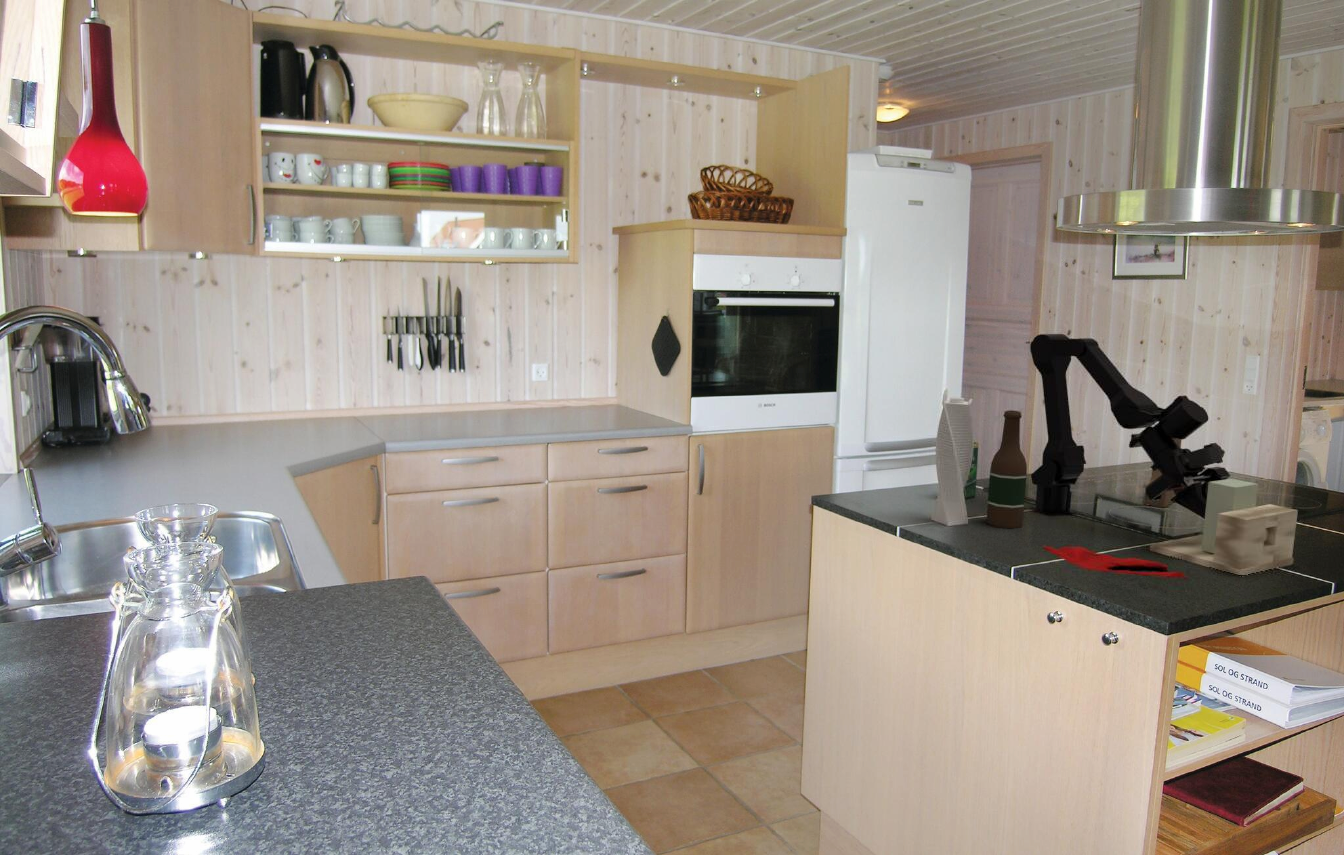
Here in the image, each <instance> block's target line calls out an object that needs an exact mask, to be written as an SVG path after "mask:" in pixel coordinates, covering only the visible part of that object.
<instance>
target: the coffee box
mask: <svg viewBox="0 0 1344 855" xmlns="http://www.w3.org/2000/svg"><path fill="white" fill-rule="evenodd" d="M978 457H979V442H975V441H974V448H973V456H972V462H971V467H970V471H969V475H968V478H967V481H966V484H965V487H964V490H963V492H964V498H965V500H966V499H972V498H976V494H977V479H978V478H977V476H978V475H977V474H978Z"/></svg>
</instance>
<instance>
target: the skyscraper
mask: <svg viewBox="0 0 1344 855" xmlns="http://www.w3.org/2000/svg"><path fill="white" fill-rule="evenodd" d="M942 394H943V395H942V402H941V405H942V409H941V413H940V418H939V422H938V425H937V426H938V428H937V432H936V433H937V434H936V440H935V466H936V467H935V468H936V477H937V484H938V493H937V496H936V500H935V504H934V508H933V512H932V516H931V521H935V522H937V523H939V524H942V525H944V526H947V527H950V526H960V525H968V524H969V519H968V513H967V505H966V499H965V498H964V492H963V490H964V487H965V484H966V481H967V478H968V475H969V471H970V467H971V462H972V456H973V448H974V442H975V440H974V439H975V437H974V436H975V435H974V434H975V432H974V430H975V429H974V420H973V412H972V404H973V403H974V402H973V401H974V400H973V398H970V399H969V400H968V401H965V398H964V397H956V396H955V397H953V396H952V397H950V398H949V399H948V396H949V395H948V394H949V390H948V388H945V389H944V391H943V393H942Z"/></svg>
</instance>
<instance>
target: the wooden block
mask: <svg viewBox="0 0 1344 855" xmlns="http://www.w3.org/2000/svg"><path fill="white" fill-rule="evenodd" d="M1175 440H1176V442H1177V443H1178V444H1179V446H1180V447H1181V448H1182V439H1178V438H1176V439H1175ZM1153 464H1154V463H1153V462H1152V465H1153ZM1159 476H1161V473H1160V472H1159V470H1157V471H1153V470H1152V472H1151V476H1150V479H1149V482H1148V483H1147V484H1146V485H1145V487H1146V486H1148V485H1149V484H1150V483H1152V482H1153V481H1154V480H1156V479H1157V478H1158V477H1159ZM1174 496H1175V495H1174V491H1173V490H1171V491H1165V492H1164V493H1162V494H1161V499H1160V500H1158V501H1152V502H1150V500H1149V499H1148V498H1147V496H1146V495H1145V494H1144V498H1143V504H1144V505H1145V504H1149V505H1153V506H1152V507H1156V506H1159V507H1158V508H1162V507H1163V509H1165V508H1166V507H1168V506H1169V505H1171V504H1172V503H1174V502H1171V499H1172V498H1173V497H1174ZM1149 505H1148V506H1149Z"/></svg>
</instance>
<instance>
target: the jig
mask: <svg viewBox="0 0 1344 855" xmlns="http://www.w3.org/2000/svg"><path fill="white" fill-rule="evenodd" d="M1298 512H1299V511H1298V509H1293V508H1289V507H1285V506H1279V505H1275V504H1270V503H1269V504H1265V505H1258V506H1257V505H1256V506H1255V507H1252V508H1246V509H1240V510H1235V511H1229V512H1224V513H1218V521H1217V530H1216V539H1215V548H1214V553H1211V552H1207V551H1203V550H1201V548H1202V539H1203V534H1198V535H1193V536H1187V537H1182V538H1178V539H1172V540H1167V541H1163V542H1162V541H1161V542H1157V543H1151V544H1150V547H1149V551H1150V552H1153V553H1157V554H1161V555H1163V556H1168V557H1171V556H1172V558H1174V557H1175V558H1174V559H1178V558H1179V560H1181V559H1182V561H1185V560H1186V562H1188V563H1192V564H1196V565H1200V566H1203V567H1206V568H1209V567H1212V568H1211V569H1213V568H1215V569H1214V570H1216V569H1219V570H1218V571H1220V570H1222V571H1221V572H1223V571H1227V572H1230V573H1234V574H1237V575H1247V576H1249V575H1248V574H1251V573H1255V574H1257V573H1256V572H1259V573H1261V572H1260V571H1263V572H1266V571H1265V570H1268V569H1272V570H1275V569H1274V568H1276V569H1278V568H1277V567H1280V568H1284V566H1285V567H1288V566H1292V564H1293V565H1294V557H1293V553H1294V552H1293V551H1294V543H1295V535H1296V529H1297V528H1296V527H1297V522H1298V521H1297V519H1298ZM1265 529H1267V531H1268V536H1267V539H1266V540H1265V541H1264V536H1265ZM1268 571H1269V570H1268ZM1227 572H1226V573H1227ZM1230 573H1229V574H1230ZM1234 574H1233V575H1234ZM1237 575H1236V576H1237ZM1251 575H1252V574H1251Z"/></svg>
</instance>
